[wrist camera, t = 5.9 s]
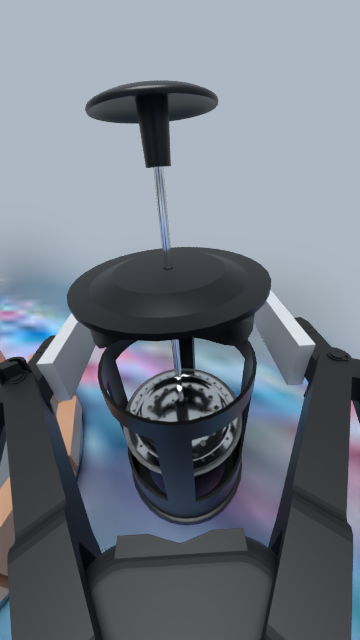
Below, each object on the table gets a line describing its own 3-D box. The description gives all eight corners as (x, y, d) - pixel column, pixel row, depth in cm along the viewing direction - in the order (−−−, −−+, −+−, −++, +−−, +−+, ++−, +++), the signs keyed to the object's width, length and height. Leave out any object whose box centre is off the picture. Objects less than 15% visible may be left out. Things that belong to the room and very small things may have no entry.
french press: (254, 541, 15) (525, -105, 2) (117, 535, 16) (-258, 16, 3) (230, 394, 25) (256, 115, 12) (146, 394, 26) (86, 131, 13)
